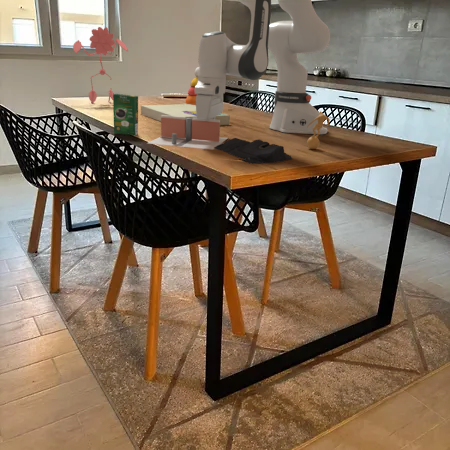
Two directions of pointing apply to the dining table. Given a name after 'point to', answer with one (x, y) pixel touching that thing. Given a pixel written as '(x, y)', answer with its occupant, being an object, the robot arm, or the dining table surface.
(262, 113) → the dining table surface
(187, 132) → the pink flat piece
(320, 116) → the figurine
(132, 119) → the coffee box
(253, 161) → the dark slate chunk
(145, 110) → the puzzle box
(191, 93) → the stacking toy
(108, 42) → the figurine
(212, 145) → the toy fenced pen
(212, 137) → the fence panel
